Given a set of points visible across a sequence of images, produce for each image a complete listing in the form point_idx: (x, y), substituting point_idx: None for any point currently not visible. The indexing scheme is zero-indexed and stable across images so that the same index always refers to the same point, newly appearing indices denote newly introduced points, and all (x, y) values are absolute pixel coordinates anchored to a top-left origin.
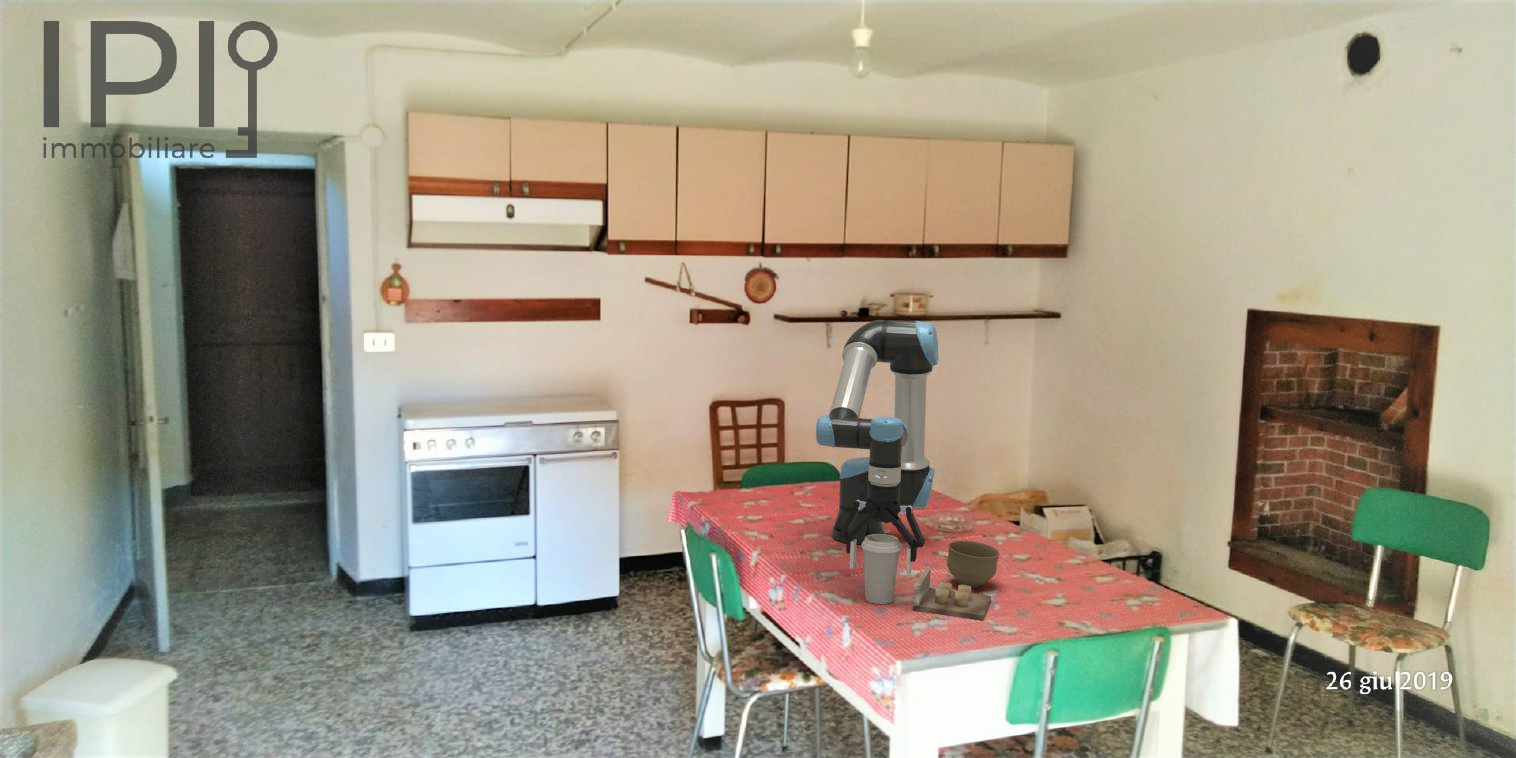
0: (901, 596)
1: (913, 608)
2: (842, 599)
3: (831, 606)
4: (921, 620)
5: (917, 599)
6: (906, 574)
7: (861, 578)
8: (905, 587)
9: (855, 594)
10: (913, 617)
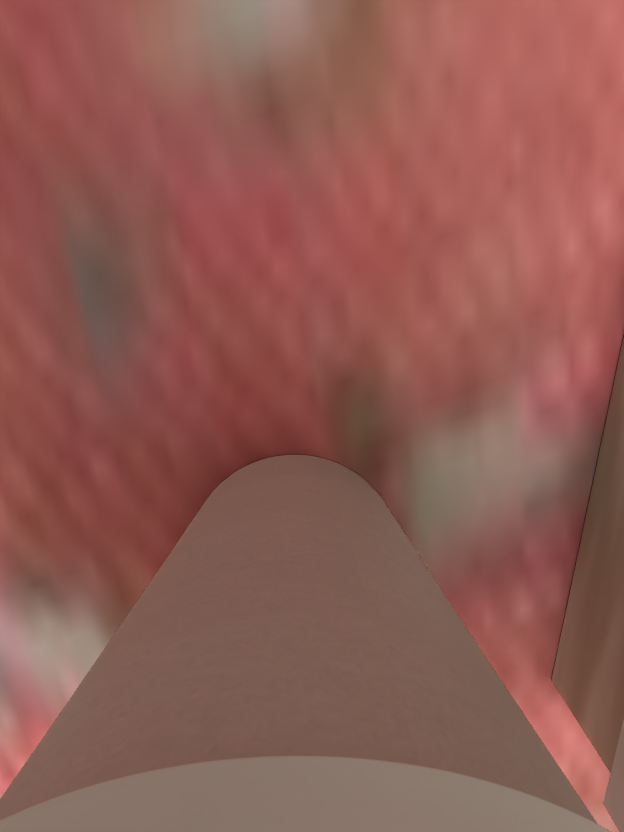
0: (454, 425)
1: (558, 689)
2: (35, 634)
3: (6, 780)
4: (604, 820)
5: None
6: (617, 819)
7: (31, 32)
8: (473, 173)
9: (96, 499)
10: None
